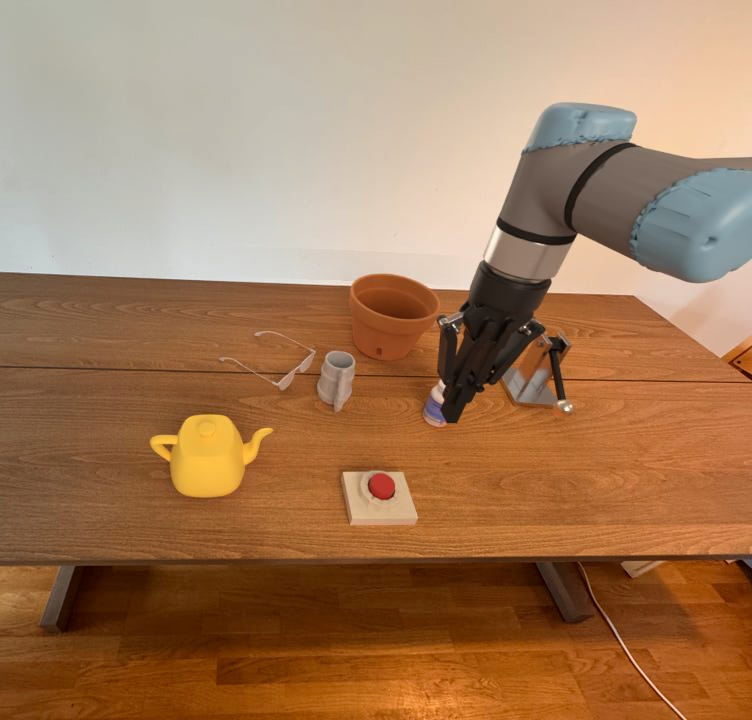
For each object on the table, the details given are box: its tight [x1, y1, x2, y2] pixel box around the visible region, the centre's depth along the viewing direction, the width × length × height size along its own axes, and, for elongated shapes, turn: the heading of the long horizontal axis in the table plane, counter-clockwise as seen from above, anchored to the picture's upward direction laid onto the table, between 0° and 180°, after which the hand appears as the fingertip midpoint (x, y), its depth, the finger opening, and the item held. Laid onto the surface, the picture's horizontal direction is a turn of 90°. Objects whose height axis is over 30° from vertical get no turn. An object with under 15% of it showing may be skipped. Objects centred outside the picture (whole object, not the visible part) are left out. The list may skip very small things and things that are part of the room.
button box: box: [340, 470, 419, 526], centre depth 72 cm, size 11×9×4 cm
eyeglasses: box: [218, 330, 317, 391], centre depth 99 cm, size 15×18×4 cm
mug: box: [316, 350, 356, 413], centre depth 88 cm, size 8×12×12 cm, turn 178°
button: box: [369, 473, 395, 499], centre depth 70 cm, size 4×4×2 cm
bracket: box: [499, 332, 573, 410], centre depth 93 cm, size 12×10×15 cm
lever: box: [547, 336, 575, 418], centre depth 87 cm, size 17×4×4 cm, turn 177°
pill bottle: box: [422, 378, 448, 428], centre depth 86 cm, size 5×5×10 cm
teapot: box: [149, 414, 274, 499], centre depth 71 cm, size 13×20×12 cm
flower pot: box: [348, 273, 442, 362], centre depth 104 cm, size 21×21×15 cm
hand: (448, 416), depth 61 cm, fingers closed
